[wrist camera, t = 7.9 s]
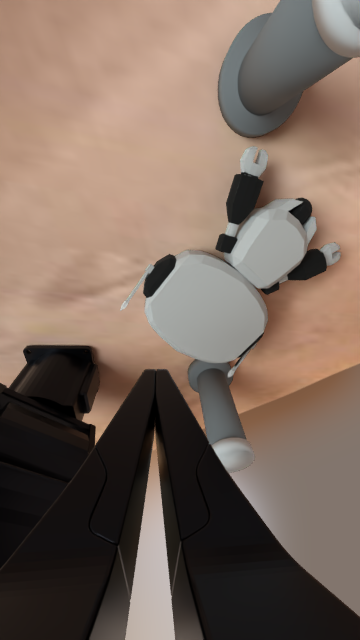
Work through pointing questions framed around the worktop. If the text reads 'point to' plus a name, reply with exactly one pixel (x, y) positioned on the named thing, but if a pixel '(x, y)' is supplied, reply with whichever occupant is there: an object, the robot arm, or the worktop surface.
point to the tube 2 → (284, 60)
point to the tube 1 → (221, 414)
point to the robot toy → (233, 273)
